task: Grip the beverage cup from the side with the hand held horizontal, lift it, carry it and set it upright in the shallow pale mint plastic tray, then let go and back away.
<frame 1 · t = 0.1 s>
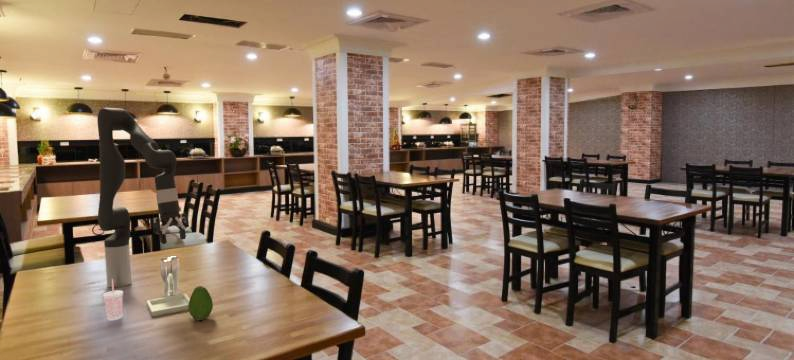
hand: (173, 241, 194), 22 cm above the table, tool pointing down, fingers open, 8 cm apart
beer glass: (171, 295, 198), on the table
beverage cup: (114, 318, 174), on the table
avocado: (201, 319, 173), on the table
tray: (170, 307, 184), on the table
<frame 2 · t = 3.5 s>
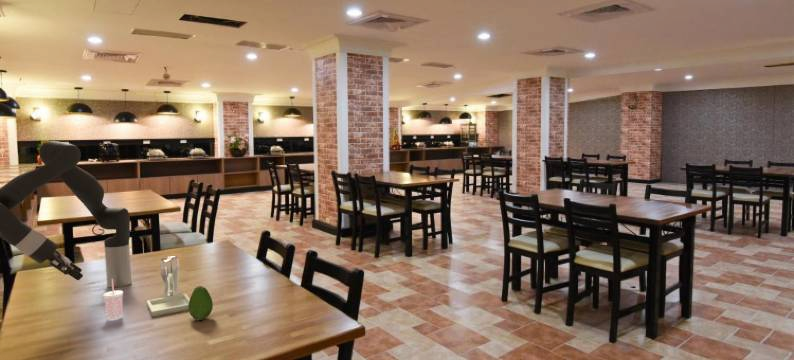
hand: (80, 275, 167), 17 cm above the table, tool tilted 45°, fingers open, 8 cm apart
nothing on the table moved.
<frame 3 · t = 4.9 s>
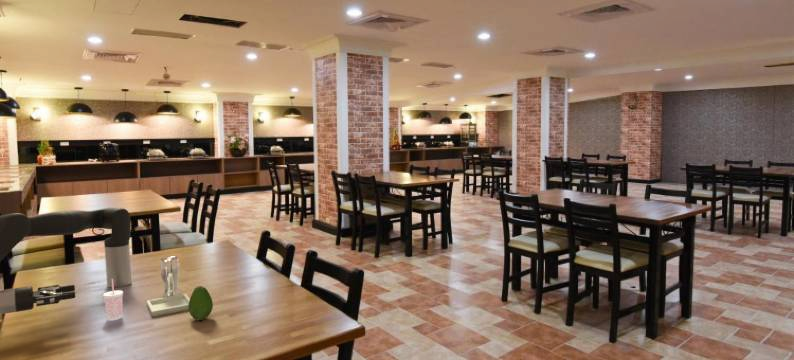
hand: (74, 291, 167), 12 cm above the table, tool horizontal, fingers open, 8 cm apart
nothing on the table moved.
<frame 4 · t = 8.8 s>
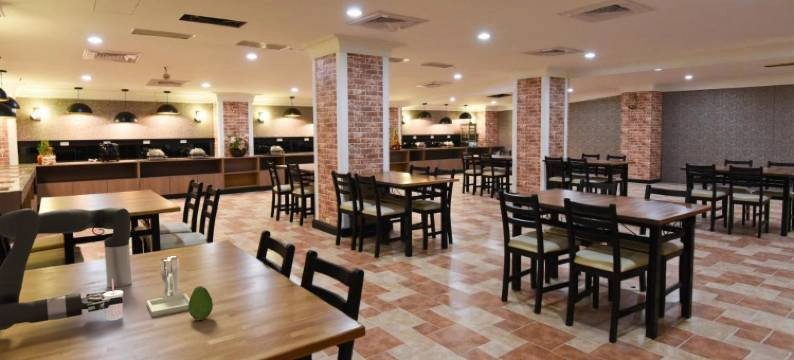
hand: (121, 297, 175), 7 cm above the table, tool horizontal, fingers closed on beverage cup, 6 cm apart
beverage cup: (114, 318, 174), on the table, touching gripper
everything else where it was.
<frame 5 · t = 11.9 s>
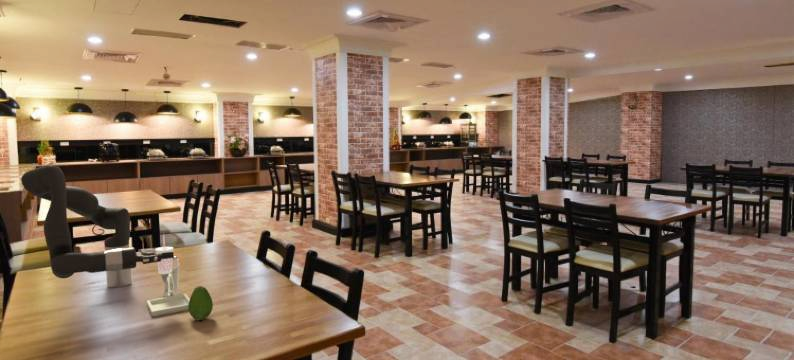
hand: (171, 252, 183), 21 cm above the table, tool horizontal, fingers closed on beverage cup, 6 cm apart
beverage cup: (165, 272, 183), point 13 cm above the table, touching gripper
everything else where it was.
when the fingers open (9 cm above the table, at t = 15.2 s): beverage cup drops 1 cm, resting on tray.
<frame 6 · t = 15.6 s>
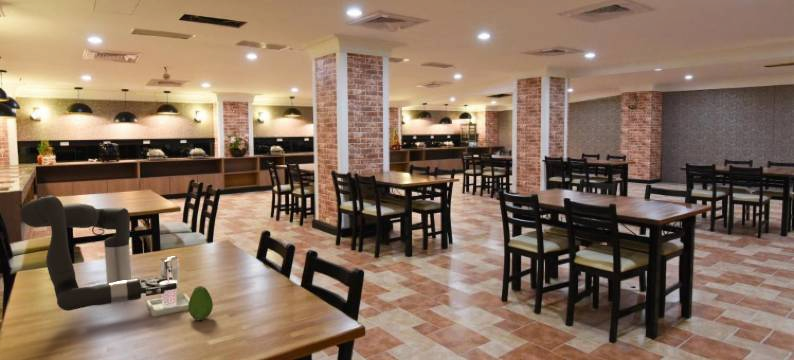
hand: (174, 282, 185), 9 cm above the table, tool horizontal, fingers open, 8 cm apart
beverage cup: (169, 306, 185), resting on tray
everything else where it was.
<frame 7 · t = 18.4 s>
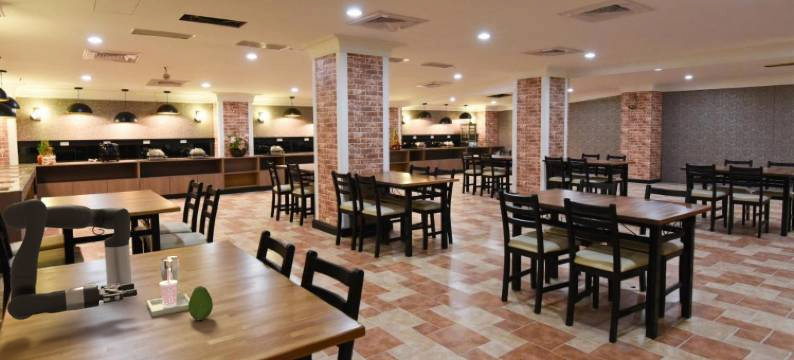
hand: (135, 289, 177), 9 cm above the table, tool horizontal, fingers open, 8 cm apart
nothing on the table moved.
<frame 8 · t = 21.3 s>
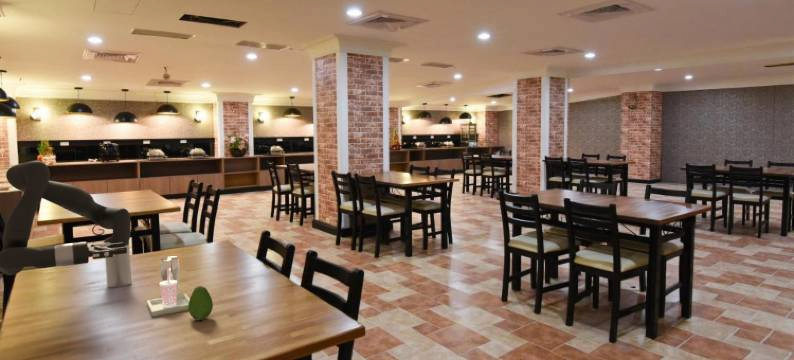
hand: (125, 247, 177), 24 cm above the table, tool horizontal, fingers open, 8 cm apart
nothing on the table moved.
at the end: beverage cup inside the target area on the tray (0.3 cm from its centre), point 0.4 cm above the tray's base; beverage cup tilted 0°; the gripper is holding nothing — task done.
